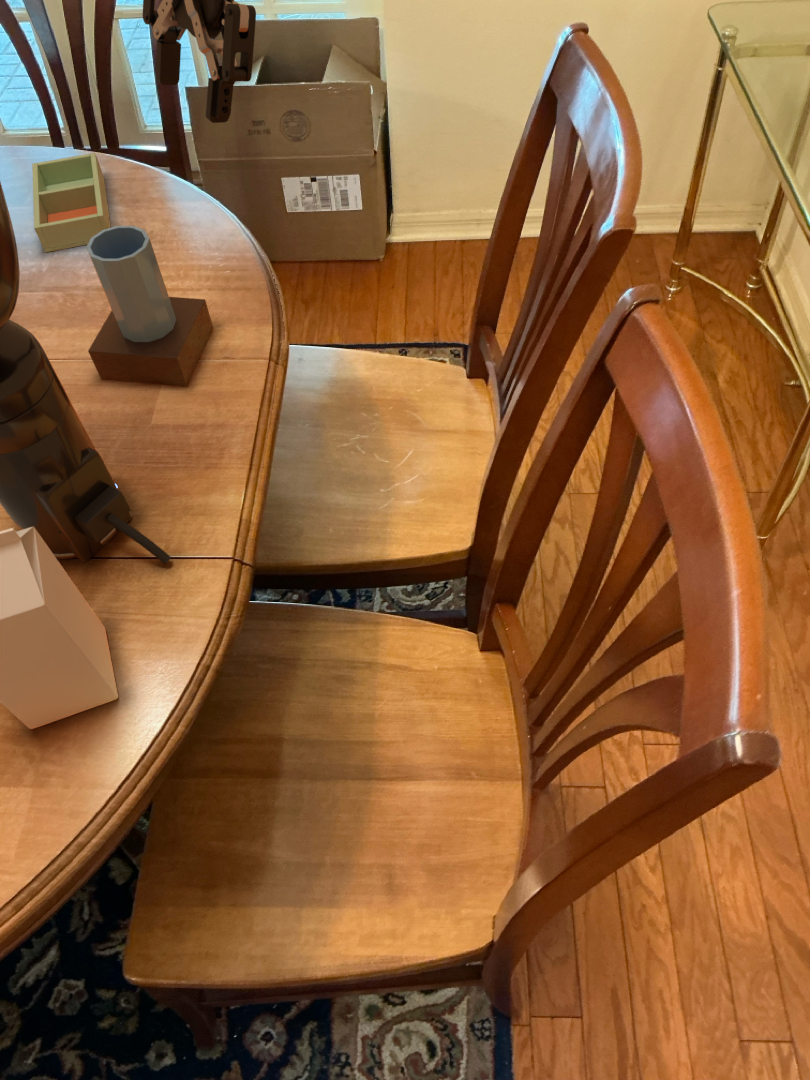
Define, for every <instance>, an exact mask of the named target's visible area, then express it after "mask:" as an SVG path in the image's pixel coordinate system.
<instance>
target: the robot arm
mask: <svg viewBox="0 0 810 1080" xmlns="http://www.w3.org/2000/svg"><path fill="white" fill-rule="evenodd" d="M155 1H156V0H142V2H143V3H142V20H143V22H144V24H145V25H150V26H151V28H152V35H153V37H154V39H155V40H156V59H155V60H156V61H155V69H156V70H155V72H156V73H155V78H156V81H157V82H158V83H159V84H161V85H162V86H176V85H179V82H180V73H181V57H182V56H181V55H182V43H181V42H179V41H180V40H181V39H182V38H183V36H184V34H185V32H186V31H188V32H189V33H190V35H191V36H193V37H194V38H195V39H196V43H197V47H198V50H199V51H200V52H201V53H202V54H203V55H204V57H205V60H206V61H205V62H206V64H207V68H208V72H209V76H210V77H208V80H207V95H206V105H205V106H206V108H205V118H206V119H207V120H208V121H210V122H211V123H212V124H220V123H226V122H228V121H229V119H230V116H231V113H232V105H233V104H232V102H233V93H234V87H235V86H234V85H235V83H236V82H250V81H251V80H252V74H253V73H252V72H253V61H254V47H255V33H256V19H257V11H256V8H255V6H254V5H252V4H246V3H239V2H238V1H235V0H161V1H160V4H159V6H158V8H157V9H155V4H156V2H155ZM220 34H221V38H222V39H216V38H218V37H219V35H220ZM237 53H240V58H239V59H240V60H239V63H240V64H239V65H238V62H237V58H236V54H237ZM218 54H220V55H221V56H222V57H221V58H222V61H221V65H220V61H219V57H218ZM20 273H21V271H20V260H19V251H18V245H17V239H16V235H15V230H14V226H13V223H12V219H11V215H10V211H9V208H8V204H7V201H6V197H5V193H4V190H3V186H2V182H1V181H0V505H1V507H2V508H3V509H4V511H5V513H6V514H7V515H8V516H9V517H10V519H11V520H12V522H13V523H14V525H16V527H17V528H18V529H19V531H20V530H23V529H27V528H30V527H34V528H35V529H36V530H37V532H38V533H39V535H40V536H41V537H42V539H43V540H44V542H45V543H46V545H47V546H48V547H49V549H50V550H51V552H52V553H53V555H54V556H55V557H56V559H57V560H71V559H79V560H80V561H82V562H88V561H89V560H90V559H91V558H93V556H95V554H96V553H98V552H99V550H101V549H102V548H103V547H104V546H105V545H106V544H108V542H110V540H112V539H113V537H115V535H116V534H117V533H118V532H119V531H120V532H121V533H123V534H124V535H126V536H127V537H128V538H130V539H132V540H133V541H134V542H136V543H137V544H139V546H141V547H143V548H144V549H145V550H147V552H149V553H150V554H151V555H153V557H155V558H156V559H157V560H159V561H160V562H161V563H162V564H164V565H166V564H167V563H168V562H169V561H170V560H171V559H172V556H171V555H169V554H168V553H167V552H166V551H164V549H162V548H161V547H160V546H159V545H157V544H156V543H155V542H153V540H151V539H150V538H148V537H147V536H146V535H145V534H143V533H142V532H140V531H139V530H137V529H136V528H135V527H133V526H132V525H130V524H129V522H130V521H131V520H132V519H133V516H132V513H131V511H132V510H131V508H130V506H129V504H128V502H127V500H126V498H125V496H124V494H123V493H122V491H120V490H119V488H118V485H117V484H116V483H115V481H114V479H113V476H111V474H110V472H109V469H108V467H107V466H106V464H105V462H104V460H103V458H102V457H101V455H100V453H99V452H98V451H97V449H96V447H95V446H94V443H93V441H92V439H91V438H90V435H89V434H88V432H87V430H86V428H85V426H84V424H83V422H82V420H81V419H80V417H79V415H78V413H77V411H76V409H75V406H74V405H73V403H72V402H71V400H70V397H69V396H68V394H67V392H66V389H65V388H64V386H63V384H62V382H61V380H60V378H59V376H58V374H57V372H56V371H55V368H54V367H53V365H52V363H51V361H50V359H49V357H48V354H47V353H46V352H45V350H44V348H43V346H42V344H41V342H39V340H38V339H37V337H36V336H35V335H34V334H33V333H32V332H31V331H29V330H28V329H27V328H25V327H24V326H22V325H20V324H19V323H17V322H15V321H13V320H11V318H12V315H13V313H14V311H15V309H16V306H17V302H18V298H19V292H20V281H21V279H20V276H21V275H20Z"/></svg>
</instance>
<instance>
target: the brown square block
mask: <svg viewBox="0 0 810 1080" xmlns="http://www.w3.org/2000/svg"><path fill="white" fill-rule="evenodd" d="M169 299H170V302H171V305H172V308H173V311H174V314H175V317H176V322H175V325H174V328H173V330H172V331H170V332H169V333H168V334H167V335H165V336H164V337H163V338H160V339H157V340H154V341H151V342H133V341H131V340H128V339H126V338H124V337H123V335H122V333H121V331H120V329H119V326H118V324H117V322H116V319H115V317H114V314H113V312H112V310H111V311H110V312H109V314H108V315H107V318H106V320H105V321H104V323H103V325H102V327H101V328H100V330H99V331H98V333H97V334H96V337H95V338H94V340H93V342H92V344H91V345H90V347H89V348H88V351H87V352H88V355H89V356H90V358H91V361H92V363H93V365H94V367H95V369H96V372H97V373H98V376H99V378H100V379H101V380H107V381H108V380H110V381H120V382H132V383H144V384H153V385H154V384H155V385H166V386H177V387H179V386H180V387H188V385H189V383H190V380H191V377H192V376H193V373H194V371H195V369H196V366H197V364H198V362H199V360H200V358H201V356H202V354H203V351H204V350H205V347H206V345H207V343H208V340H209V338H210V336H211V334H212V331H213V330H214V325H213V322H212V318H211V315H210V311H209V308H208V303H207V300H206V299H205V298H193V297H192V298H190V297H181V296H180V297H179V296H177V297H176V296H169Z"/></svg>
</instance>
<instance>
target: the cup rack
mask: <svg viewBox="0 0 810 1080" xmlns="http://www.w3.org/2000/svg"><path fill="white" fill-rule="evenodd" d="M31 165H32V166H31V167H32V168H31V169H32V197H33V198H32V199H33V200H32V201H33V228H34V231H35V233H36V235H37V238H38V239H39V242H40V244H41V246H42V248H43V250H44V252H45V253H50V252H55V251H60V250H66V249H71V248H76V247H81V246H87V245H88V243H89V241H90V239H91V238H92V237H93V236H95V235H96V234H98V233H99V232H100V231H102V230H105V229H108V228H111V227H112V226H111V222H110V221H111V219H110V213H109V205H108V198H107V190H106V183H105V177H104V173H103V170H102V167H101V165H100V162H99V160H98V157H97V154H96V152H91V153H86V154H80V155H75V156H69V157H68V156H67V157H62V158H56V159H51V160H45V161H40V162H34V163H32V164H31Z"/></svg>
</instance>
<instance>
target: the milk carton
mask: <svg viewBox="0 0 810 1080" xmlns="http://www.w3.org/2000/svg"><path fill="white" fill-rule="evenodd" d="M118 698H119V693H118V689H117V683H116V678H115V672H114V667H113V662H112V657H111V652H110V646H109V641H108V636H107V631H106V628H105V626H104V624H103V622H101V620H100V618H99V617H98V615H97V614H96V613H95V612H94V610H93V609H92V607H91V606H90V604H89V603H88V602H87V600H86V599H85V597H84V596H83V594H82V593H81V592H80V590H79V588H78V587H77V586H76V585H75V583H74V581H73V580H72V578H71V577H70V576H69V574H68V573H67V571H66V570H65V569H64V567H63V566H62V564H61V563H60V562H59V559H56V557H55V556H54V555H53V553H52V552H51V550H50V549H49V547H48V546H47V545H46V543H45V542H44V540H43V539H42V537H41V536H40V535H39V533H38V532H37V530H36V529H35V528H34V527H30V528H27V529H23V530H20V529H19V530H17V531H16V529H15V528H13V527H11V528H6V529H3V530H0V704H1V705H2V706H3V707H5V708H6V709H7V711H9V712H10V713H11V714H12V715H14V716H15V717H16V718H17V719H18V720H19V721H20V722H21V723H22V724H23V725H25V727H26V728H28V729H30V730H33V729H36V728H39V727H40V728H41V727H42V726H45V725H48V724H51V723H53V722H56V721H60V720H62V719H65V718H68V717H71V716H73V715H76V714H80V713H82V712H85V711H88V710H90V709H93V708H97V707H99V706H101V705H105V704H107V703H111V702H113V701H115V700H117V699H118Z"/></svg>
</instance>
